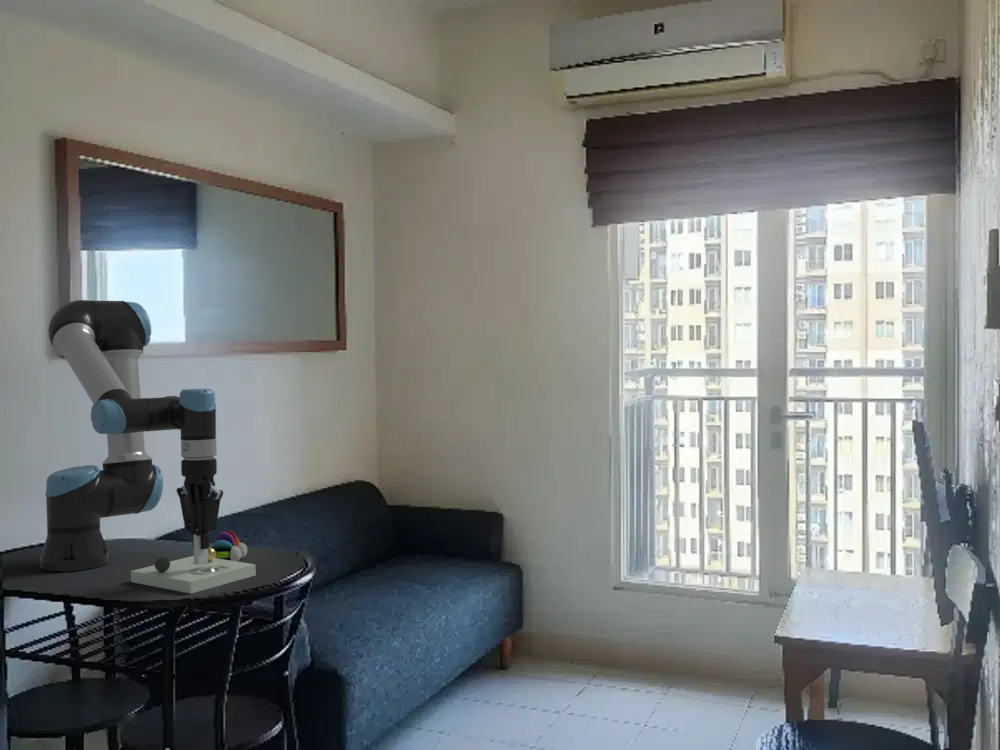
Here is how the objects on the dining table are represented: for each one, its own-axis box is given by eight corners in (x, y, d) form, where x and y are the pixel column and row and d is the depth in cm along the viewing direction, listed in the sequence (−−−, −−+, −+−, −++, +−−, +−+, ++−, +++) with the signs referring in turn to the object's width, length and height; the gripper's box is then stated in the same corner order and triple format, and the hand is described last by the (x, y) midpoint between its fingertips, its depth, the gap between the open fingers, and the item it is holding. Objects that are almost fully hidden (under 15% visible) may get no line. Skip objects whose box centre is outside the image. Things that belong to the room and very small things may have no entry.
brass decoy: (198, 561, 211) (198, 548, 211) (209, 559, 214) (209, 545, 214) (208, 563, 210) (207, 549, 209) (219, 560, 212) (219, 547, 212)
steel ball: (197, 569, 202) (206, 567, 201) (209, 566, 205) (218, 564, 203) (200, 584, 202) (209, 582, 200) (211, 581, 205) (221, 579, 203)
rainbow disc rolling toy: (250, 556, 228) (249, 527, 228) (235, 565, 219) (235, 535, 219) (217, 556, 229) (217, 527, 229) (201, 565, 220) (201, 535, 219)
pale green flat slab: (131, 582, 203) (130, 570, 203) (196, 565, 219) (196, 555, 218) (191, 593, 193) (190, 581, 193) (255, 575, 208) (255, 564, 208)
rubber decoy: (151, 572, 202) (151, 558, 201) (164, 569, 204) (163, 555, 204) (161, 574, 200) (160, 559, 200) (173, 571, 203) (173, 556, 202)
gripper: (165, 458, 204) (168, 563, 204) (205, 461, 197) (207, 570, 198) (193, 454, 210) (195, 556, 211) (232, 457, 203) (234, 563, 204)
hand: (201, 563), depth 204 cm, fingers closed
